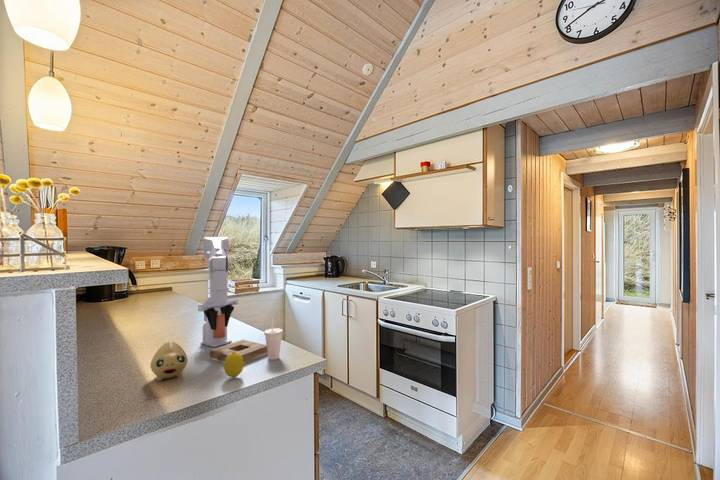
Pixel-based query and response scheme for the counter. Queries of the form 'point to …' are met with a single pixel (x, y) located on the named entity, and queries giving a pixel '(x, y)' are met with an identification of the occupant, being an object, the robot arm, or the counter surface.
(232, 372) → the lemon
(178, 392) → the counter surface
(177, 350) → the cream rounded figure
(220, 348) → the socket block
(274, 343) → the smoothie
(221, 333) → the reddish brown tall block
